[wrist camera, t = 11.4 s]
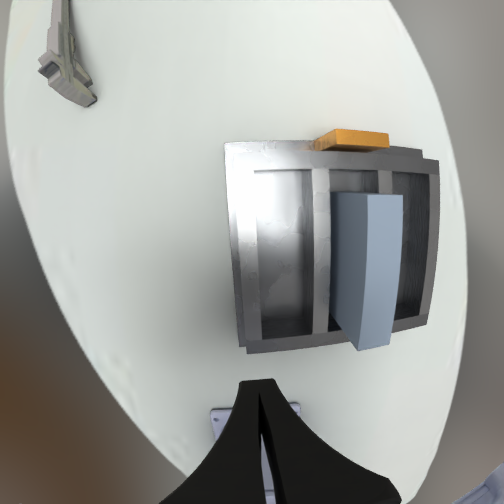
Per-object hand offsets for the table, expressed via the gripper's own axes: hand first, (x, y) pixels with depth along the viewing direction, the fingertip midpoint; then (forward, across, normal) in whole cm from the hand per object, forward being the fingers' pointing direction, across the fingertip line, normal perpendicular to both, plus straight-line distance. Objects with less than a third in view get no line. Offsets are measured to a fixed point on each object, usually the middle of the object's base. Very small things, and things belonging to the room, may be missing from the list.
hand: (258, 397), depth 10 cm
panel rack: (+9, -6, -4) cm, 12 cm away
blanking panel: (+9, -6, -4) cm, 12 cm away
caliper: (+10, +14, -25) cm, 31 cm away
